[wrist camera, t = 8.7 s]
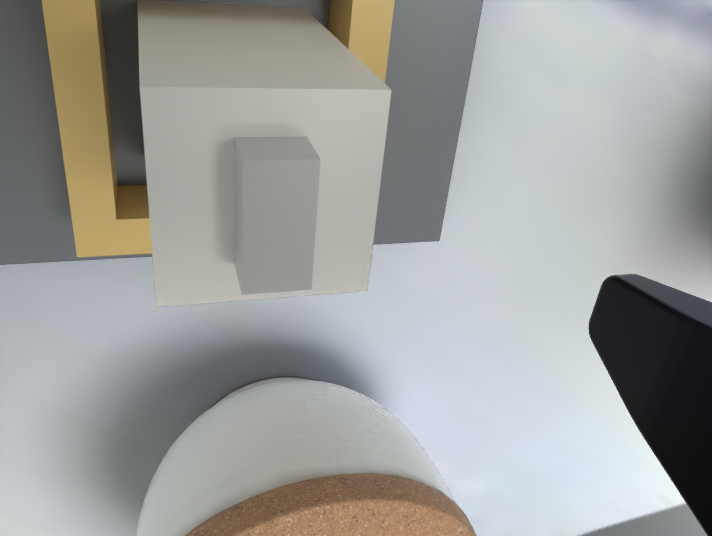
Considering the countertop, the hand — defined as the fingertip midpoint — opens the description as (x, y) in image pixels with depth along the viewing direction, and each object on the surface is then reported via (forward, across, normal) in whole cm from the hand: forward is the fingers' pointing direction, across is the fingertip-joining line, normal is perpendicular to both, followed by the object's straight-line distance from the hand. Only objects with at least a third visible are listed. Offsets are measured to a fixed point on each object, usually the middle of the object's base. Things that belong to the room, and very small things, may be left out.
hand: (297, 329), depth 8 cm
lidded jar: (+12, -2, +14) cm, 19 cm away
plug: (+11, 0, 0) cm, 11 cm away
